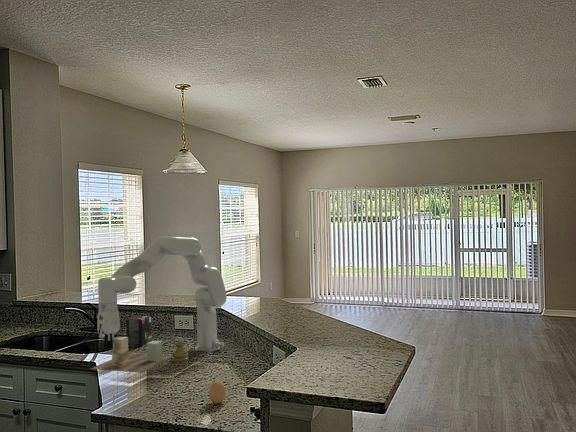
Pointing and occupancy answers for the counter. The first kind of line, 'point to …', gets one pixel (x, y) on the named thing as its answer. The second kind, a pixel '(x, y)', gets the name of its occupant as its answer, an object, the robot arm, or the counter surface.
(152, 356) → the sage block
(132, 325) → the tampon box
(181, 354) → the olive tiered piece
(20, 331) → the counter surface
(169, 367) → the counter surface
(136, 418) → the counter surface
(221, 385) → the egg
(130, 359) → the walnut board
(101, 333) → the robot arm
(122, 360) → the maple block
